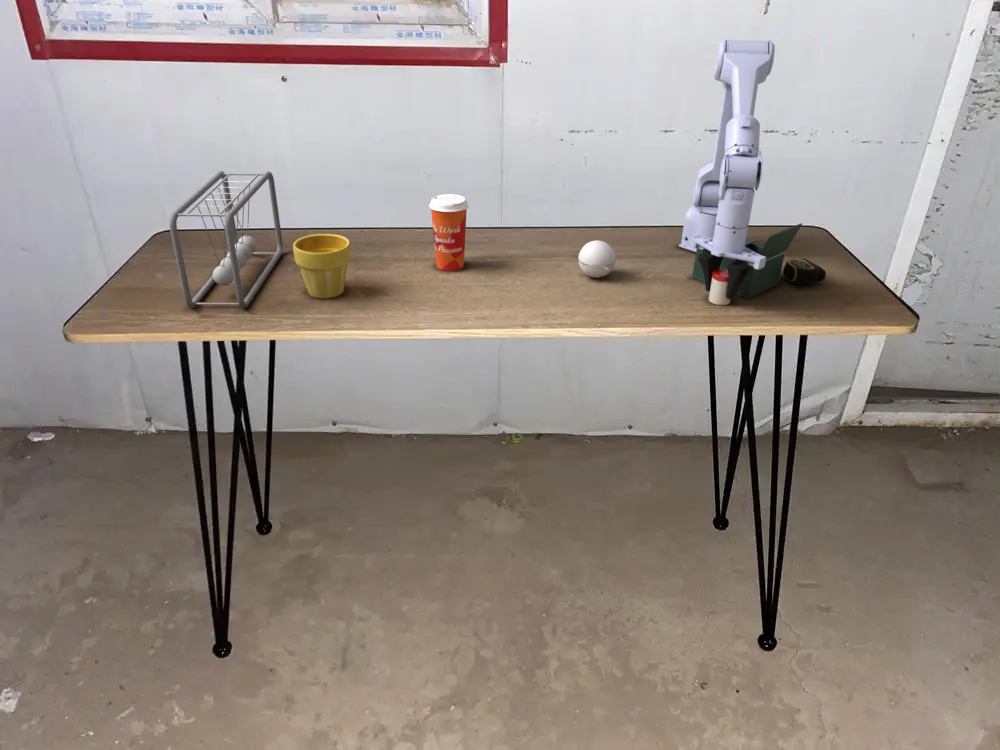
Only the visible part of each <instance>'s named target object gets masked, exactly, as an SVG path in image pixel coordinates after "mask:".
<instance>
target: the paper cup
mask: <svg viewBox="0 0 1000 750" xmlns="http://www.w3.org/2000/svg"><path fill="white" fill-rule="evenodd" d="M429 208H430V212H431V213H430V214H431V223H432V231H433V232H432V235H433V247H434V255H435V265H436V268H437V269H439V270H441V271H445V272H455V271H459V270H462V269H463V268H464V264H465V253H466V252H465V251H466V250H465V249H466V233H467V232H466V231H467V230H466V229H467V228H466V227H467V210H468V208H470V207H469V204H468V202H467V200H466V198H465V196H463V195H460V194H450V193H448V194H447V193H446V194H439V195H436V196H434V197H433V198H431V200H430V203H429Z"/></svg>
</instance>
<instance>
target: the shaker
mask: <svg viewBox="0 0 1000 750" xmlns="http://www.w3.org/2000/svg"><path fill="white" fill-rule="evenodd" d="M727 287H728V270H727V269H716V270H714V271H713V273H712V281H711V287H710V291H709V294H708V301H709V302H710V303H712V304H714V305H718V306H726V305H730V303H731V300H732V299H727V298H726V293H727Z"/></svg>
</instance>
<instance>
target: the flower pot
mask: <svg viewBox="0 0 1000 750" xmlns="http://www.w3.org/2000/svg"><path fill="white" fill-rule="evenodd" d="M292 251H293V257H294V262H295V264H296V265H297V266H299V269H300V272H301V276H302V279H303V281H304V284H305V288H306V290H307V293H308V294H309V296H311V297H312V298H316V299H332V298H336V297H338V296H340V295H342V294H343V292H344V291H345V282H346V275H347V269H348V264H349V262H350V261H351V258H352V255H351V251H352V249H351V242H350V240H349V239H348V238H347V237H345V236H343V235H341V234H334V233H316V234H315V233H314V234H309V235H304V236H301V237H299V238H298V239H296V240H295V241H294V242H293V244H292Z"/></svg>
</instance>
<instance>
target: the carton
mask: <svg viewBox="0 0 1000 750" xmlns="http://www.w3.org/2000/svg"><path fill="white" fill-rule="evenodd" d="M756 242H757V240H755V239H752V238H749V237H746V243H745V247H746V248H748V249H750V250H752V251H754V252H756V253H757V254H760V252H761V250H762V249H763V247H764V245H759V244H756ZM702 252H703V250H702V249H699V248H697V250H696V252H695V258H694V264H693V269H692V277H691V278H692V279H694V280H696V281H699V282H702V283H705V278H704V273H703V269H702V266H701V264H700V262H699V260H698V255H700V254H702ZM784 259H785V252H782V253H779V254H777V255H775V256H772V257H770V258H768V259H766V262H765V267H763V268H761V269H759V270H757V269H754V267H753V268H752V269H751V270H750V272H749V273H748V274H747V275H746V277H745V278H744V280H743V282H742V283H741V285H740V287H739V289H738V292H737V294H736V295H738V296H740V297H744V298H747V299H749V298H752V297H754V296H756V295H758V294H759V293H761V292H764V291H767V290H768V289H770V288H773V287H775V286H776V285H779V282H780V278H781V273H782V270H783V264H784ZM731 263H735V260H732V259H729V258H726V257H723V259H722V262H721V265H720V268H719V269H727V270H728V268H727V267H728V265H729V264H731Z"/></svg>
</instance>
